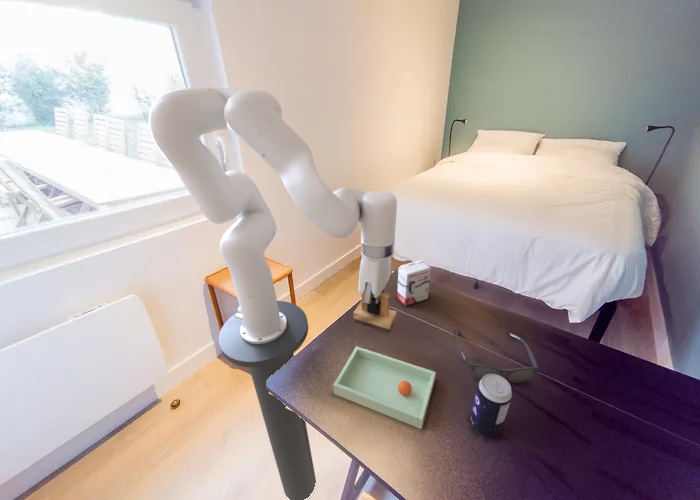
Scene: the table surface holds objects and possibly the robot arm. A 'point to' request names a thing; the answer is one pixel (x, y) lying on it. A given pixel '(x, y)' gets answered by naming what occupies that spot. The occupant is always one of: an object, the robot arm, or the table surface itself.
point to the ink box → (413, 282)
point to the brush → (376, 321)
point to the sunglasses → (513, 374)
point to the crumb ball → (404, 388)
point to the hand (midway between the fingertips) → (375, 309)
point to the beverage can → (491, 404)
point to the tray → (386, 385)
